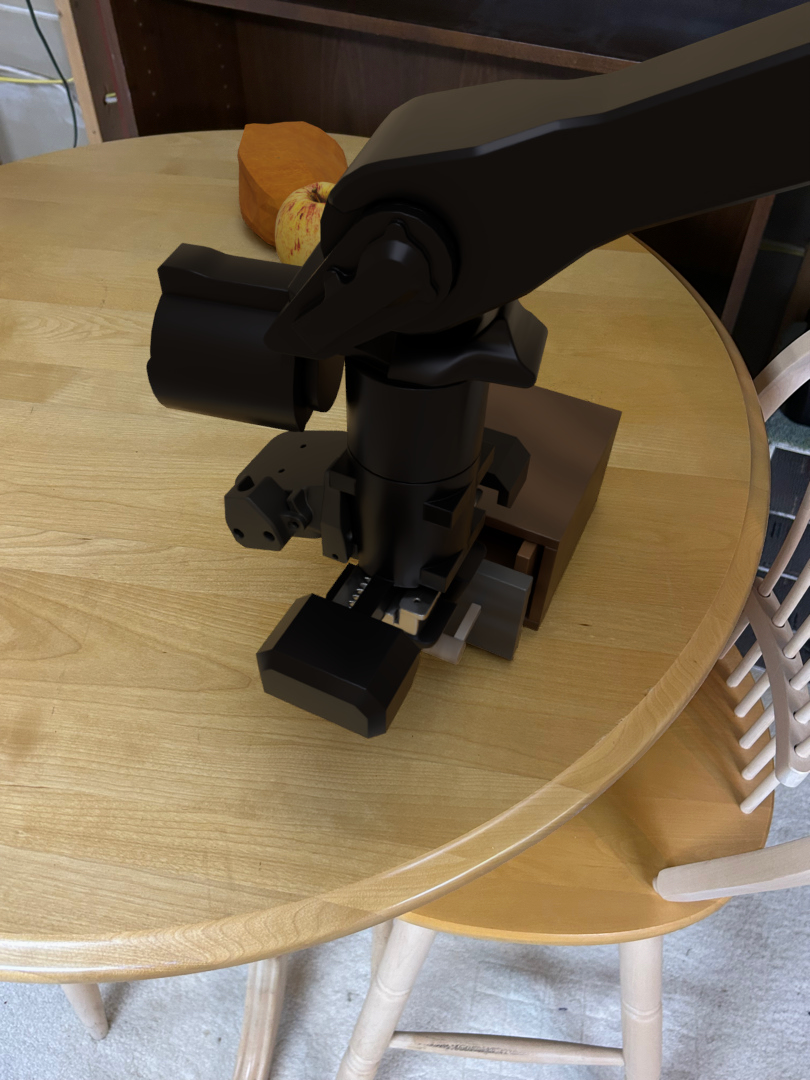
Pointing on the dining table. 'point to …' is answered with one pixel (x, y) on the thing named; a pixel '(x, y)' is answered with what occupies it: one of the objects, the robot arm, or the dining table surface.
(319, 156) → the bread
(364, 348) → the robot arm
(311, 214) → the apple
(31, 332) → the dining table surface
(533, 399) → the cabinet
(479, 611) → the drawer
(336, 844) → the dining table surface
